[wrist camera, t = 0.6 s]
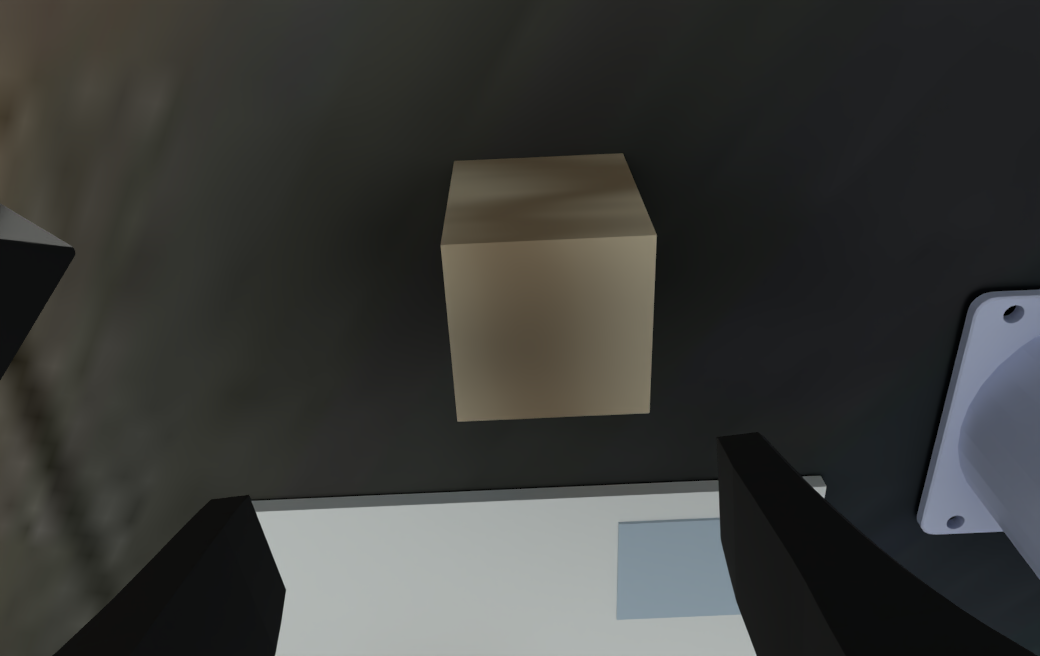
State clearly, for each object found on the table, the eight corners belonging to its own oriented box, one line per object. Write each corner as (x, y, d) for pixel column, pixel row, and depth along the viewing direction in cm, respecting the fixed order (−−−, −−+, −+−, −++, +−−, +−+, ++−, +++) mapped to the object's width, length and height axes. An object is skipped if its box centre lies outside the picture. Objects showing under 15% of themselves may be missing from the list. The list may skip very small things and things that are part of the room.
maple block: (622, 152, 20) (656, 234, 15) (619, 302, 22) (649, 413, 17) (454, 160, 20) (440, 245, 15) (466, 309, 22) (457, 421, 17)
